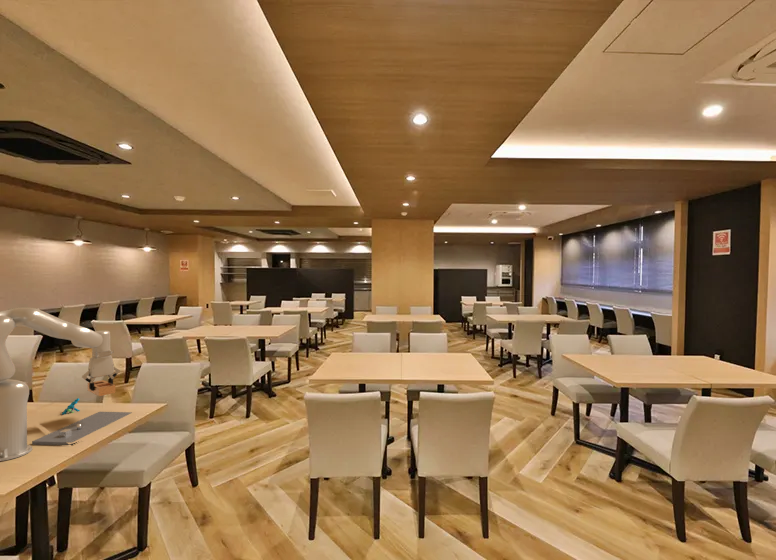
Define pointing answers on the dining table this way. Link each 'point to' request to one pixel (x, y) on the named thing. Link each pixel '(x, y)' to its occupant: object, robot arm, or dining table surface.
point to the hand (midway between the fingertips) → (101, 388)
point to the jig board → (84, 430)
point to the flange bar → (102, 388)
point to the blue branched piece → (71, 407)
